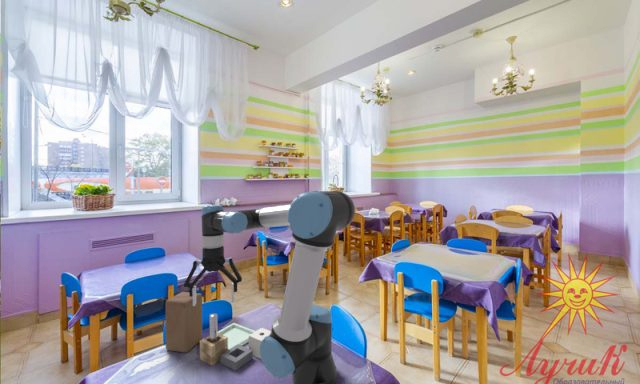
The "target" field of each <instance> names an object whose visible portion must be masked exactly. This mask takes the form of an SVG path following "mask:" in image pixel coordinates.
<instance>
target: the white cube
mask: <svg viewBox="0 0 640 384" xmlns="http://www.w3.org/2000/svg"><path fill="white" fill-rule="evenodd" d="M254 331H255V332H254V333H252V334H251V335H249V342H248V349H250V350H252V351H253V357H256V358H258V359H261V356H260V343H261V341H262V340H263V339H264V338H265V337H266V336H269V335H270V333H271V330H269V329H267V328H263V327H260V328H258V329H256V330H254ZM261 360H262V359H261Z"/></svg>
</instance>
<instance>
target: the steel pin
mask: <svg viewBox="0 0 640 384" xmlns="http://www.w3.org/2000/svg"><path fill="white" fill-rule="evenodd" d="M208 320H209V321H208V322H209V336H210V342H211V343H214V342H216V341H218V331H219V330H218V323H219V322H218V313H210V314H209V319H208Z"/></svg>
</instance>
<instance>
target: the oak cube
mask: <svg viewBox="0 0 640 384" xmlns="http://www.w3.org/2000/svg"><path fill="white" fill-rule="evenodd" d="M226 351H228V337H226V336H224V335H221V334H219V333H218V341H216V342H214V343H211V342H210V335H208V336H205V338H202V340H200V342H199V360H200V361H202V362H204V363H206V364H208V365H210V366H214V365H216V364H217V363H219V362H221V355H222V354H223V353H225V352H226Z"/></svg>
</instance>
